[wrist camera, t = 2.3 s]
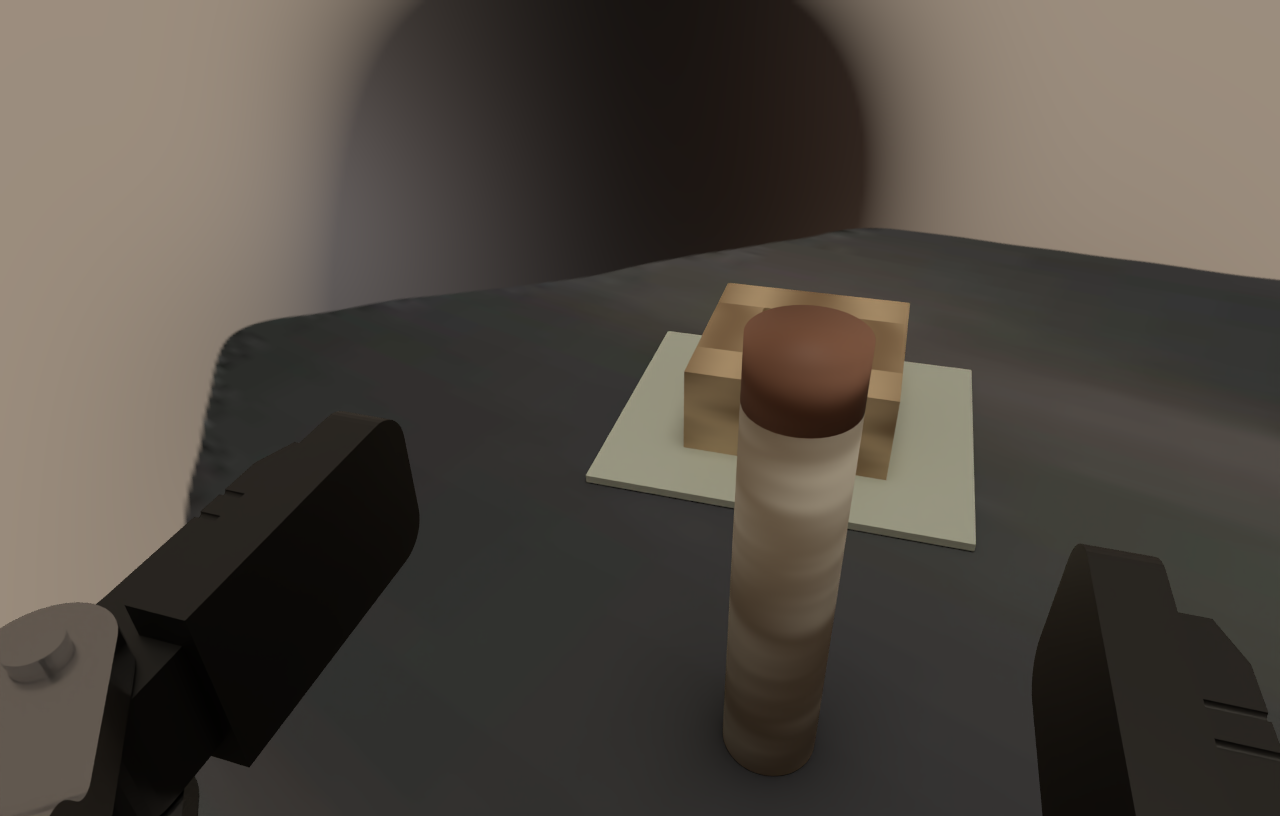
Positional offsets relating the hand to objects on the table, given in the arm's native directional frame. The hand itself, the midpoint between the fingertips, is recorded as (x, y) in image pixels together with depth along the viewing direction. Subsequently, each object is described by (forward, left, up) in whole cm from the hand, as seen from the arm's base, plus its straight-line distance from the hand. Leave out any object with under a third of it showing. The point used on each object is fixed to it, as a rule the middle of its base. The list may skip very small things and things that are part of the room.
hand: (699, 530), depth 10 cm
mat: (+2, -30, -19) cm, 36 cm away
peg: (0, -11, -19) cm, 22 cm away
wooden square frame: (+2, -31, -19) cm, 37 cm away
